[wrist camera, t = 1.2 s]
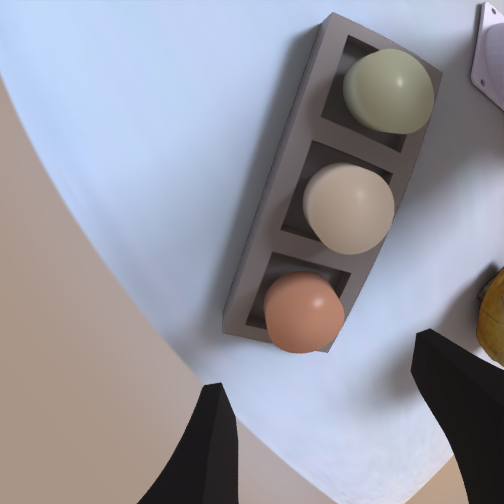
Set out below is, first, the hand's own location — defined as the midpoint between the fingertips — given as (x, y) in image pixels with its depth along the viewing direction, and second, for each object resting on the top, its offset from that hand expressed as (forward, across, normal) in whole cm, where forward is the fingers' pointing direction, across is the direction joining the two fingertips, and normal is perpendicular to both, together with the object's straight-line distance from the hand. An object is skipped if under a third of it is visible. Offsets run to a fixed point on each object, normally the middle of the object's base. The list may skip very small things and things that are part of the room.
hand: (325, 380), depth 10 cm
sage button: (+7, -6, -9) cm, 13 cm away
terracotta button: (+7, 0, +1) cm, 7 cm away
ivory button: (+7, -3, -4) cm, 9 cm away
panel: (+10, -3, -4) cm, 11 cm away
